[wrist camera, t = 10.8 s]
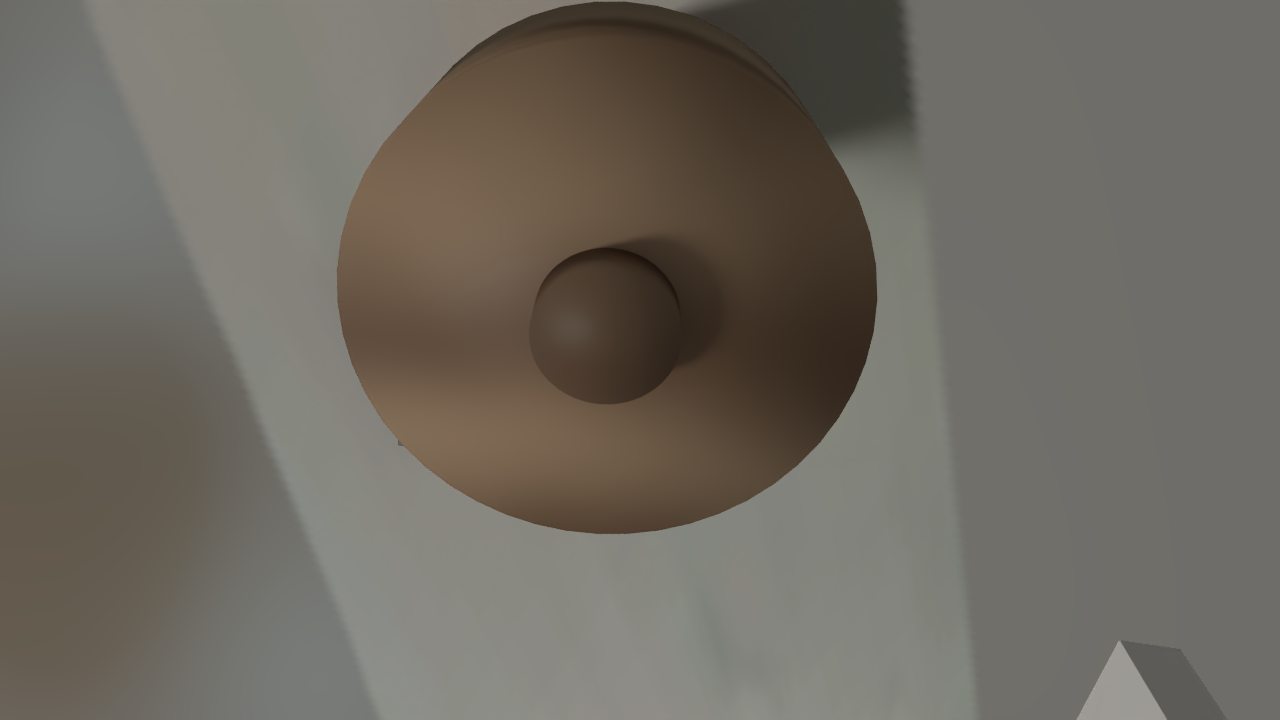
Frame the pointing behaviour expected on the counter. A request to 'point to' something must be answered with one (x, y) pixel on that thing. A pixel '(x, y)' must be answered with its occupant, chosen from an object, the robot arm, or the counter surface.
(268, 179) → the counter surface
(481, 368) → the lid
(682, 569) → the counter surface
